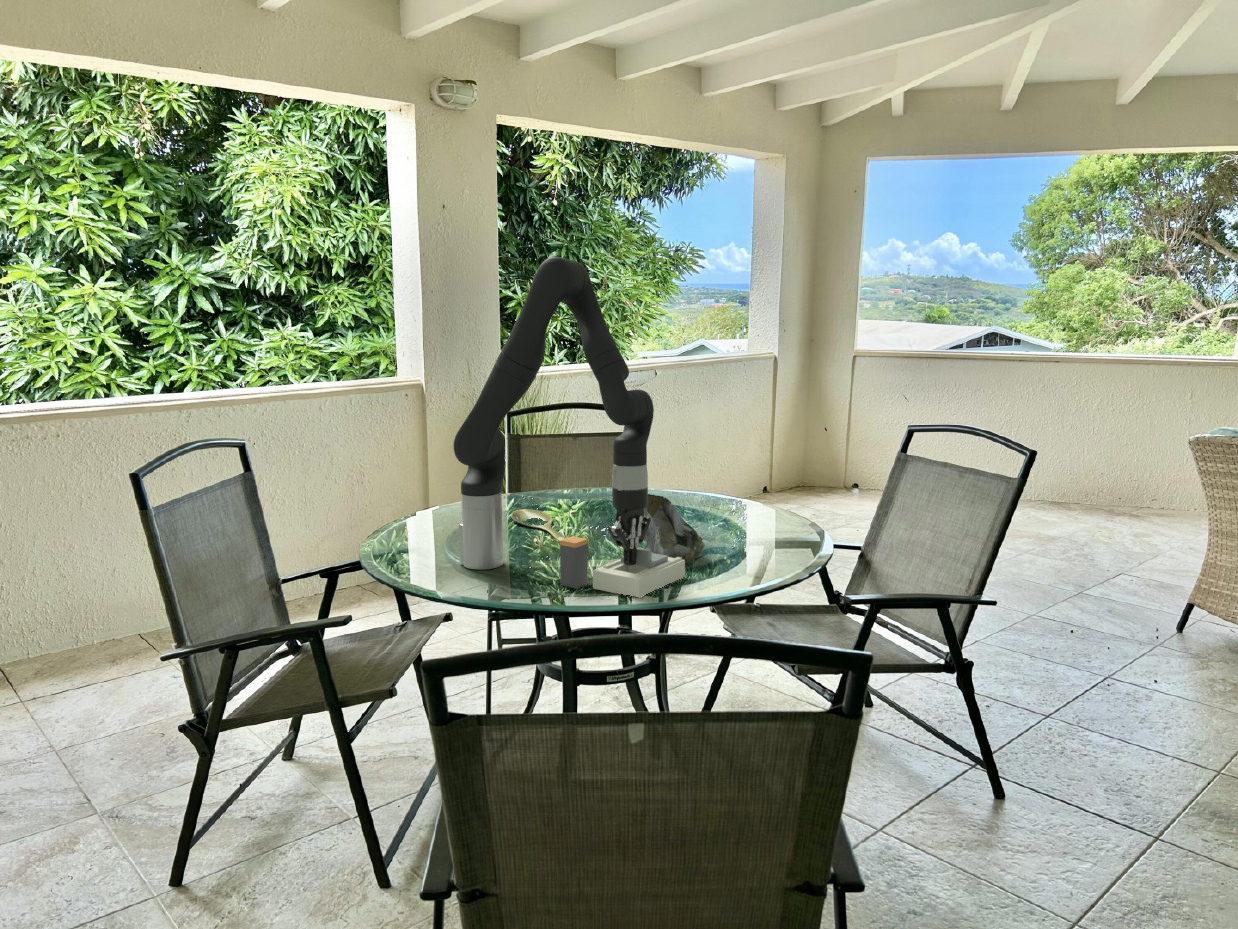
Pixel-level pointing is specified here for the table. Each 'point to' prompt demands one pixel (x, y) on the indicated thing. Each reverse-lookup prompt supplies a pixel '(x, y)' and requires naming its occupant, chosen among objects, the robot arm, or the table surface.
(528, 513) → the spoon
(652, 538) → the stone
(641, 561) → the grey l-shaped block
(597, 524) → the table surface
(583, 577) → the plug
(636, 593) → the socket block
